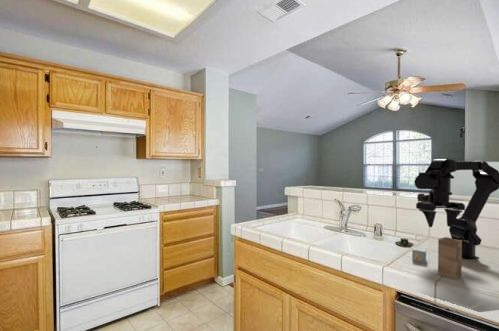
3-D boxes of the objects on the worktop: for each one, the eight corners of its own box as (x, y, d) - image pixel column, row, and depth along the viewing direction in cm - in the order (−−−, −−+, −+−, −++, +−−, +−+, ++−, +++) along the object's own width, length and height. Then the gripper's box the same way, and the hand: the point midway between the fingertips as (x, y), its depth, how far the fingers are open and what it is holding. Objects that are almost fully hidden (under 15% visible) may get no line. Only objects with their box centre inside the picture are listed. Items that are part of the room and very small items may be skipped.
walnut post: (445, 271, 98) (445, 237, 97) (461, 276, 93) (461, 240, 93) (438, 273, 95) (438, 238, 95) (454, 279, 91) (454, 242, 91)
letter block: (413, 257, 112) (413, 246, 112) (426, 259, 109) (426, 248, 109) (412, 260, 108) (412, 249, 108) (425, 263, 105) (425, 252, 105)
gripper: (441, 187, 120) (440, 221, 120) (406, 187, 116) (405, 222, 117) (466, 190, 109) (465, 228, 109) (428, 189, 106) (427, 229, 106)
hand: (439, 226), depth 111 cm, fingers open, 9 cm apart
